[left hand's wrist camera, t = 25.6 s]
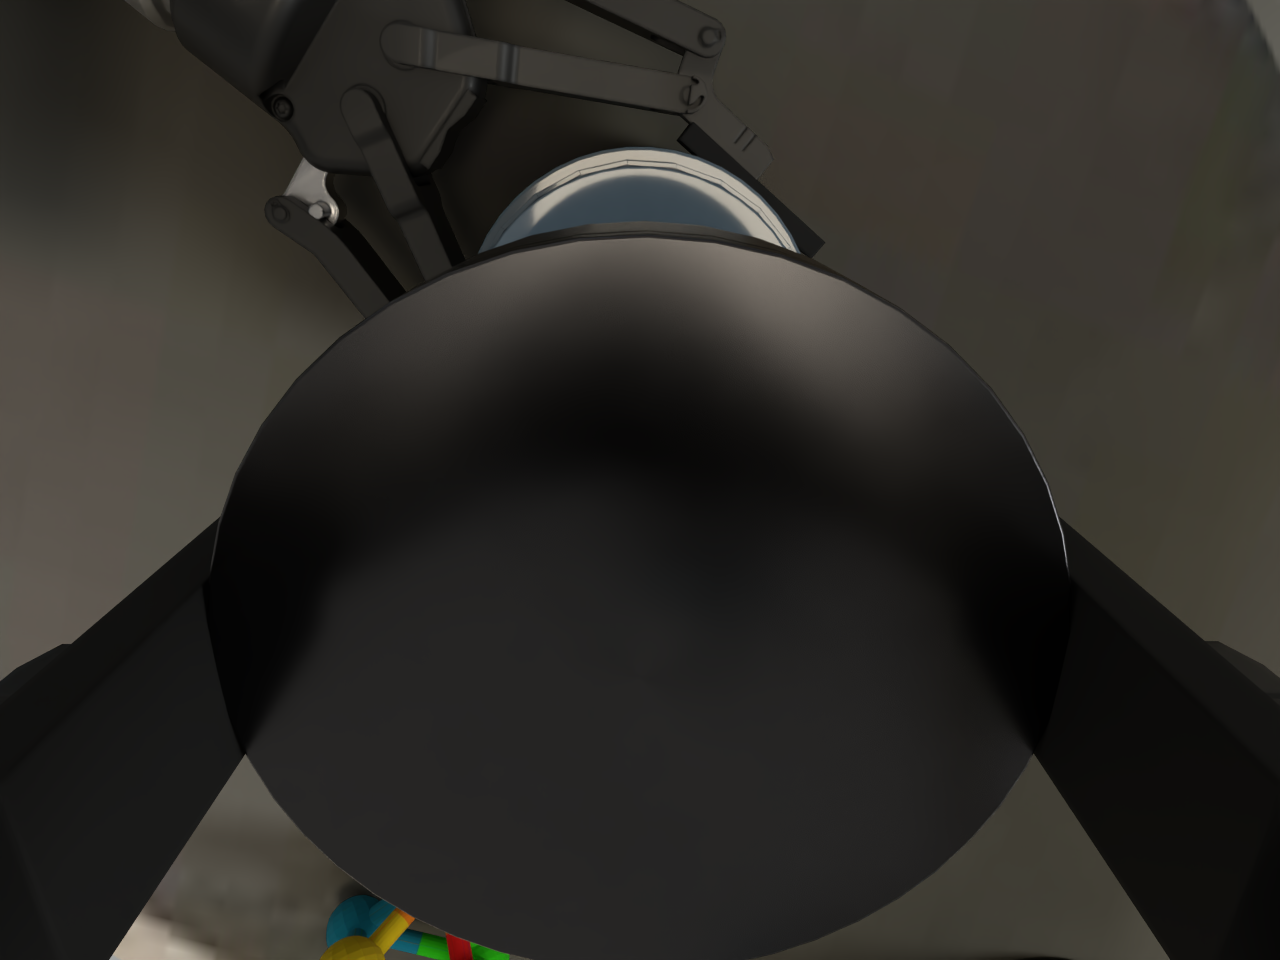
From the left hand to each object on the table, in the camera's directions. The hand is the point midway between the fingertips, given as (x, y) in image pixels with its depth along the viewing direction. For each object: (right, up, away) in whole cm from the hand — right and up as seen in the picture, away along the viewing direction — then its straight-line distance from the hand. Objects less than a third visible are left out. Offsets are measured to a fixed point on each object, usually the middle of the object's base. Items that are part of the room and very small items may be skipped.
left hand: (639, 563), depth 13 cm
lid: (0, -1, -3) cm, 3 cm away
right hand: (+3, +7, +20) cm, 21 cm away
